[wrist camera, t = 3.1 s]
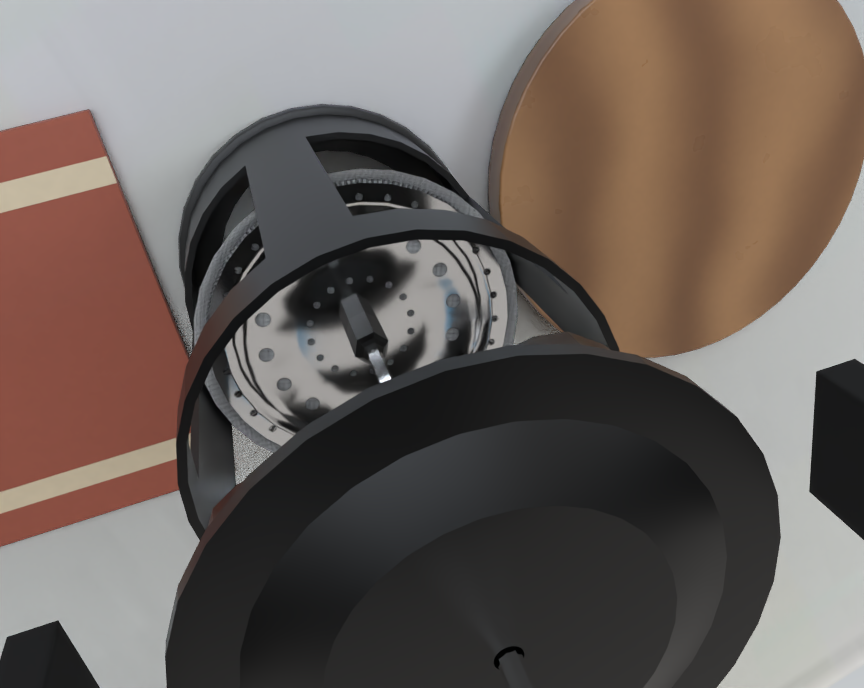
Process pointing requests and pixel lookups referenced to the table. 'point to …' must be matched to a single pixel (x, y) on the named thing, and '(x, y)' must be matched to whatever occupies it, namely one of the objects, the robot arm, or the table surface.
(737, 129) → the brown wooden round trivet
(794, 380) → the table surface
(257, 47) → the table surface
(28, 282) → the napkin
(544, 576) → the french press
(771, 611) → the table surface
